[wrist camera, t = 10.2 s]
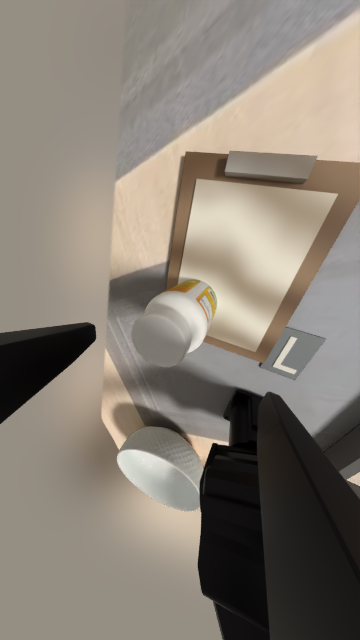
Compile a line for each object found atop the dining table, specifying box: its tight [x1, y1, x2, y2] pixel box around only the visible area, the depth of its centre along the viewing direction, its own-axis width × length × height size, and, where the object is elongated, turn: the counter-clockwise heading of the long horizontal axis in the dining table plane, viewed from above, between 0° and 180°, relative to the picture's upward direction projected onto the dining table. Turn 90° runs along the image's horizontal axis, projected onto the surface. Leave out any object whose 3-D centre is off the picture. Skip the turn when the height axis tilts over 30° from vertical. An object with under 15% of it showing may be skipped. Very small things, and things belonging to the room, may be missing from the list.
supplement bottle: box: [131, 280, 217, 367], centre depth 14 cm, size 5×5×10 cm
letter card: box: [260, 327, 326, 380], centre depth 17 cm, size 6×4×1 cm, turn 169°
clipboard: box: [166, 151, 360, 363], centre depth 16 cm, size 18×14×2 cm
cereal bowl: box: [117, 426, 203, 511], centre depth 30 cm, size 17×17×7 cm
